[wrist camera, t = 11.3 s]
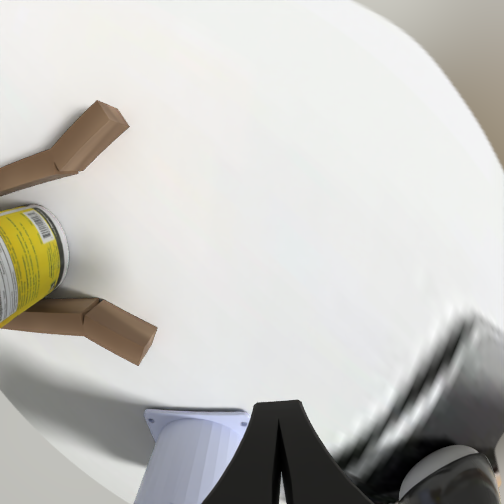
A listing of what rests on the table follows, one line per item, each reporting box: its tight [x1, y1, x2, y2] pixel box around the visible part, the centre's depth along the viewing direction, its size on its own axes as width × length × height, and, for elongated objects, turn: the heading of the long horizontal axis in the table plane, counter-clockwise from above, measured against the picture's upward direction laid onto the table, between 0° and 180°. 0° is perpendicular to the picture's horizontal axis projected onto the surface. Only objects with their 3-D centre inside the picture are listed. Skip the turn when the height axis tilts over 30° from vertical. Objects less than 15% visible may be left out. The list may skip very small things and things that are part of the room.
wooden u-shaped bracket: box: [0, 100, 157, 366], centre depth 16 cm, size 15×15×2 cm
